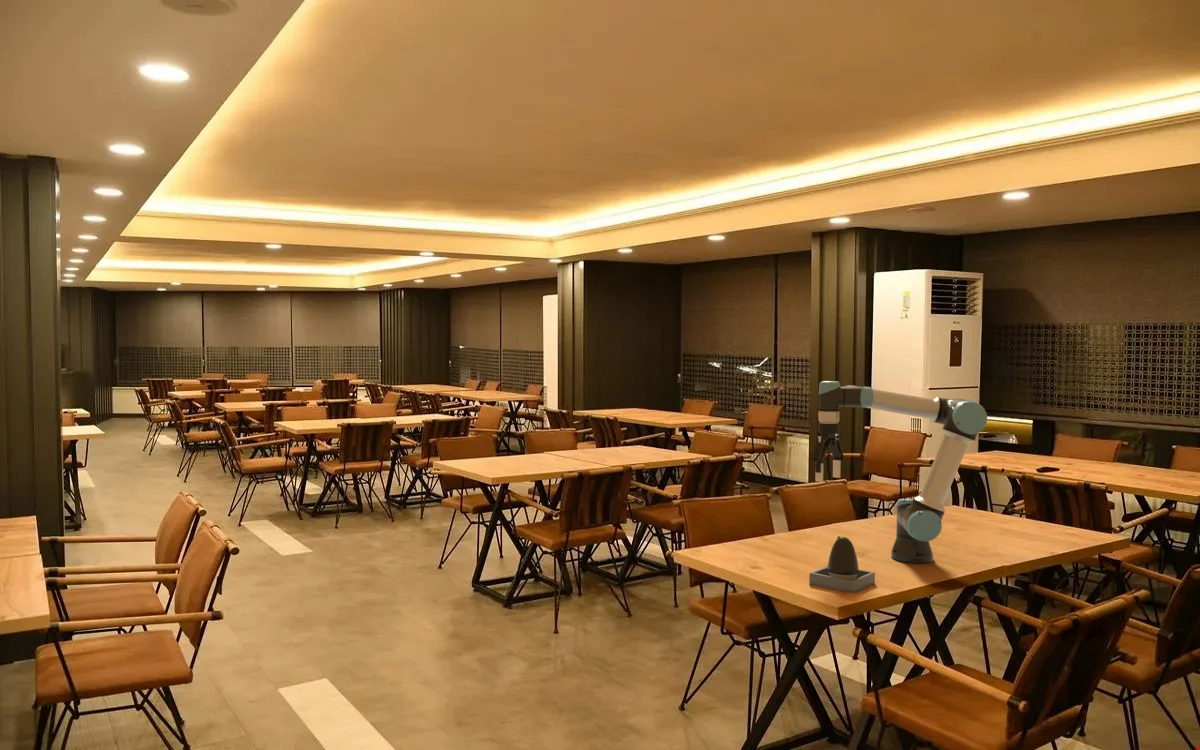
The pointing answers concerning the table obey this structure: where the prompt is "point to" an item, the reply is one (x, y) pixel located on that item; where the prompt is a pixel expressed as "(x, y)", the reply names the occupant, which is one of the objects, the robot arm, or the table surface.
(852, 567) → the dark grey oval piece
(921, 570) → the table surface
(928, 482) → the robot arm
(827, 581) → the grey tray
